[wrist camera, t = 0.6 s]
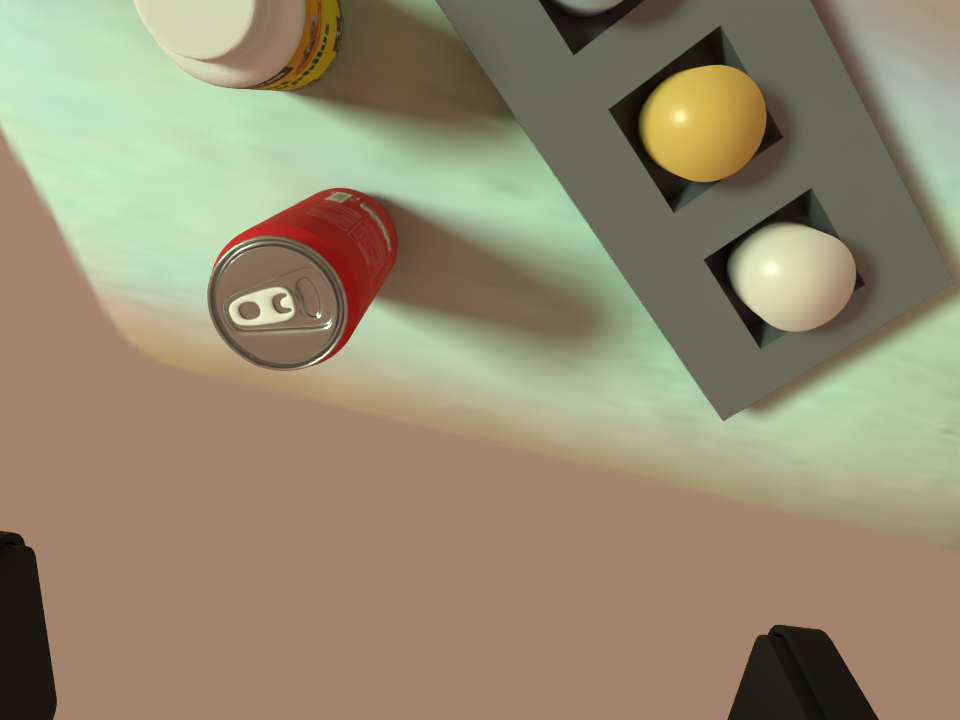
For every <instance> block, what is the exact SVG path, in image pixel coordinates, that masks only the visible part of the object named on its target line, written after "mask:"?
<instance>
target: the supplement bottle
mask: <svg viewBox="0 0 960 720" xmlns="http://www.w3.org/2000/svg"><path fill="white" fill-rule="evenodd" d="M134 3H135V5H136V8H137V11H138V13H139V15H140V17H141V19H142V21H143V22H144V24H145V26H146V27H147V29H148V30H149V31H150V32H151V34H152V35H153V36H154V37H155V39H156V41H157V42H158V44H159V45H160V47H161V48H162V49H163V51H164V52H165V53H166V54H167V56H168V57H169V58H170V59H171V60H172V61H173V62H174V63H175V64H176V65H177V66H179V67H180V68H181V69H182V70H184V71H185V72H186V73H188V74H190V75H191V76H193V77H195V78H197V79H199V80H201V81H203V82H206V83H209V84H212V85H215V86H220V87H225V88H235V89H253V90H274V91H293V90H299V89H303V88H306V87H308V86H310V85H313V84H314V83H316V82H317V81H319V80H320V79H322V78H323V77H324V76H325V75H326V74H327V73H328V72H329V70H330V69H331V68H332V66H333V65H334V63H335V61H336V59H337V57H338V55H339V52H340V49H341V45H342V40H343V31H344V25H343V16H342V11H341V7H340V4H339V1H338V0H134Z"/></svg>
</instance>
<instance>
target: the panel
mask: <svg viewBox="0 0 960 720" xmlns="http://www.w3.org/2000/svg"><path fill="white" fill-rule="evenodd" d="M436 2H437V3H438V5H439V6H440V8H441V9H442V11H443V12H444V14H445V15H446V17H447V18H448V19H449V21H450V22H451V24H452V25H453V27H454V28H455V30H456V31H457V33H458V34H459V36H460V37H461V39H462V40H463V41H464V43H465V44H466V46H467V47H468V49H469V50H470V52H471V53H472V55H473V56H474V58H475V59H476V61H477V62H478V63H479V65H480V66H481V68H482V69H483V71H484V72H485V74H486V75H487V77H488V78H489V80H490V81H491V83H492V84H493V85H494V87H495V88H496V90H497V91H498V93H499V94H500V96H501V97H502V99H503V100H504V102H505V103H506V105H507V106H508V107H509V109H510V110H511V112H512V113H513V115H514V116H515V118H516V119H517V121H518V122H519V124H520V125H521V127H522V128H523V129H524V131H525V132H526V134H527V135H528V137H529V138H530V140H531V141H532V143H533V144H534V146H535V147H536V149H537V150H538V151H539V153H540V154H541V156H542V157H543V159H544V160H545V162H546V163H547V165H548V166H549V168H550V169H551V171H552V172H553V173H554V175H555V176H556V178H557V179H558V181H559V182H560V184H561V185H562V187H563V188H564V190H565V191H566V193H567V194H568V195H569V197H570V198H571V200H572V201H573V203H574V204H575V206H576V207H577V209H578V210H579V212H580V213H581V215H582V216H583V217H584V219H585V220H586V222H587V223H588V225H589V226H590V228H591V229H592V231H593V232H594V234H595V235H596V237H597V238H598V239H599V241H600V242H601V244H602V245H603V247H604V248H605V250H606V251H607V253H608V254H609V256H610V257H611V259H612V260H613V261H614V263H615V264H616V266H617V267H618V269H619V270H620V272H621V273H622V275H623V276H624V278H625V279H626V281H627V282H628V283H629V285H630V286H631V288H632V289H633V291H634V292H635V294H636V295H637V297H638V298H639V300H640V301H641V303H642V304H643V305H644V307H645V308H646V310H647V311H648V313H649V314H650V316H651V317H652V319H653V320H654V322H655V323H656V325H657V326H658V327H659V329H660V330H661V332H662V333H663V335H664V336H665V338H666V339H667V341H668V342H669V344H670V345H671V347H672V348H673V349H674V351H675V352H676V354H677V355H678V357H679V358H680V360H681V361H682V363H683V364H684V366H685V367H686V369H687V370H688V371H689V373H690V374H691V376H692V377H693V379H694V380H695V382H696V383H697V385H698V386H699V388H700V389H701V391H702V392H703V393H704V395H705V396H706V398H707V399H708V401H709V402H710V403H711V405H712V406H713V408H714V409H715V410H716V412H717V413H718V415H719V416H720V417H721V419H722V420H723V421H725V420H726V419H728V418H730V417H731V416H733V415H735V414H736V413H738V412H740V411H741V410H743V409H745V408H746V407H748V406H750V405H751V404H753V403H755V402H756V401H758V400H760V399H761V398H763V397H765V396H766V395H768V394H770V393H771V392H773V391H775V390H776V389H778V388H780V387H781V386H783V385H785V384H786V383H788V382H790V381H791V380H793V379H795V378H796V377H798V376H800V375H801V374H803V373H805V372H806V371H808V370H810V369H811V368H813V367H815V366H816V365H818V364H820V363H821V362H823V361H825V360H826V359H828V358H830V357H831V356H833V355H835V354H836V353H838V352H840V351H841V350H843V349H845V348H846V347H848V346H850V345H851V344H853V343H855V342H856V341H858V340H860V339H861V338H863V337H865V336H866V335H868V334H870V333H871V332H873V331H875V330H876V329H878V328H880V327H881V326H883V325H885V324H886V323H888V322H890V321H891V320H893V319H895V318H896V317H898V316H900V315H901V314H903V313H905V312H906V311H908V310H910V309H911V308H913V307H915V306H916V305H918V304H920V303H921V302H923V301H925V300H926V299H928V298H930V297H931V296H933V295H935V294H936V293H938V292H939V291H941V290H943V289H944V288H946V287H948V286H949V285H951V284H953V283H954V280H953V278H952V276H951V274H950V272H949V270H948V268H947V266H946V264H945V262H944V260H943V258H942V256H941V254H940V252H939V250H938V249H937V247H936V245H935V243H934V241H933V239H932V237H931V235H930V233H929V231H928V229H927V227H926V225H925V223H924V221H923V219H922V217H921V215H920V213H919V211H918V209H917V208H916V206H915V204H914V202H913V200H912V198H911V196H910V194H909V192H908V190H907V188H906V186H905V184H904V182H903V180H902V178H901V176H900V174H899V172H898V170H897V169H896V167H895V165H894V163H893V161H892V159H891V157H890V155H889V153H888V151H887V149H886V147H885V145H884V143H883V141H882V139H881V137H880V135H879V133H878V131H877V129H876V128H875V126H874V124H873V122H872V120H871V118H870V116H869V114H868V112H867V110H866V108H865V106H864V104H863V102H862V100H861V98H860V96H859V94H858V92H857V90H856V88H855V87H854V85H853V83H852V81H851V79H850V77H849V75H848V73H847V71H846V69H845V67H844V65H843V63H842V61H841V59H840V57H839V55H838V53H837V51H836V49H835V48H834V46H833V44H832V42H831V40H830V38H829V36H828V34H827V32H826V30H825V28H824V26H823V24H822V22H821V20H820V18H819V16H818V14H817V12H816V10H815V8H814V7H813V5H812V3H811V1H810V0H623V1H622V2H621V3H619V4H618V5H617V6H615V7H614V8H613V9H611V10H609V11H607V12H605V13H603V14H600V15H596V16H591V17H579V16H574V15H570V14H568V13H565V12H563V11H562V10H560V9H558V8H557V7H556V6H555V5H553V4H552V3H551V1H550V0H436ZM710 65H724V66H729V67H733V68H735V69H738V70H740V71H742V72H743V73H745V74H746V75H748V76H749V77H750V78H751V79H752V80H753V81H754V82H755V83H756V85H757V86H758V88H759V89H760V91H761V93H762V96H763V98H764V102H765V106H766V127H765V132H764V135H763V138H762V141H761V143H760V145H759V147H758V149H757V151H756V152H755V154H754V155H753V157H752V158H751V159H750V160H749V161H748V162H747V163H746V164H745V165H744V166H743V167H742V168H741V169H739V170H738V171H737V172H735V173H733V174H732V175H730V176H728V177H726V178H723V179H720V180H716V181H711V182H697V181H692V180H688V179H686V178H683V177H680V176H678V175H676V174H673V173H671V172H668V171H666V170H663V169H661V168H660V167H658V166H657V165H655V164H654V163H653V162H652V161H651V160H650V159H649V158H648V157H647V155H646V154H645V152H644V151H643V149H642V146H641V144H640V141H639V136H638V117H639V113H640V109H641V106H642V104H643V102H644V100H645V98H646V96H647V95H648V93H649V92H650V91H651V89H652V88H653V87H654V86H655V85H656V84H657V83H658V82H659V81H661V80H662V79H663V78H665V77H666V76H668V75H670V74H672V73H674V72H677V71H680V70H685V69H691V68H698V67H704V66H710ZM772 219H788V220H793V221H796V222H798V223H801V224H803V225H806V226H808V227H811V228H813V229H816V230H818V231H821V232H823V233H826V234H828V235H831V236H833V237H835V238H837V239H838V240H840V241H841V242H842V243H843V244H844V245H845V246H846V247H847V248H848V250H849V251H850V253H851V254H852V257H853V259H854V262H855V267H856V280H855V286H854V289H853V292H852V294H851V297H850V298H849V300H848V302H847V304H846V305H845V306H844V308H843V309H842V310H841V311H840V312H839V313H838V314H837V315H836V316H835V317H834V318H832V319H831V320H830V321H828V322H827V323H825V324H823V325H821V326H819V327H816V328H814V329H810V330H806V331H797V332H793V331H785V330H781V329H778V328H776V327H774V326H772V325H770V324H769V323H767V322H766V321H765V320H763V319H762V318H761V317H760V316H759V315H757V314H756V313H755V312H754V311H752V310H751V309H750V308H749V307H747V306H746V305H745V304H744V303H743V302H741V301H740V300H739V299H738V298H737V297H736V296H735V295H734V293H733V292H732V290H731V288H730V286H729V284H728V280H727V272H726V269H727V261H728V257H729V255H730V252H731V250H732V248H733V246H734V245H735V243H736V242H737V240H738V239H739V238H740V237H741V236H742V235H743V234H744V233H745V232H746V231H747V230H749V229H750V228H752V227H753V226H755V225H757V224H759V223H761V222H764V221H767V220H772Z"/></svg>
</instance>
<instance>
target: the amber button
mask: <svg viewBox="0 0 960 720" xmlns="http://www.w3.org/2000/svg"><path fill="white" fill-rule="evenodd" d="M765 127H766V106H765V102H764V98H763V96H762V93H761V91H760V89H759V88H758V86H757V85H756V83H755V82H754V81H753V80H752V79H751V78H750V77H749V76H748V75H746V74H745V73H743V72H742V71H740V70H738V69H735V68H733V67H729V66H724V65H710V66H704V67H698V68H691V69H685V70H680V71H677V72H674V73H672V74H670V75H668V76H666V77H665V78H663V79H662V80H661V81H659V82H658V83H657V84H656V85H655V86H654V87H653V88H652V89H651V91H650V92H649V93H648V95H647V96H646V98H645V100H644V102H643V104H642V106H641V109H640V113H639V117H638V136H639V141H640V144H641V146H642V149H643V151H644V152H645V154H646V155H647V157H648V158H649V159H650V160H651V161H652V162H653V163H654V164H655V165H657V166H658V167H660V168H661V169H663V170H666V171H668V172H671V173H673V174H676V175H678V176H680V177H683V178H686V179H688V180H692V181H697V182H711V181H716V180H720V179H723V178H726V177H728V176H730V175H732V174H733V173H735V172H737V171H738V170H739V169H741V168H742V167H743V166H744V165H745V164H746V163H747V162H748V161H749V160H750V159H751V158H752V157H753V155H754V154H755V152H756V151H757V149H758V147H759V145H760V143H761V141H762V138H763V135H764V132H765Z"/></svg>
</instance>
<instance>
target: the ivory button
mask: <svg viewBox="0 0 960 720" xmlns="http://www.w3.org/2000/svg"><path fill="white" fill-rule="evenodd" d="M726 272H727V280H728V284H729V286H730V288H731V290H732V292H733V293H734V295H735V296H736V297H737V298H738V299H739V300H740V301H741V302H743V303H744V304H745V305H746V306H747V307H749V308H750V309H751V310H752V311H754V312H755V313H756V314H757V315H759V316H760V317H761V318H762V319H763V320H765V321H766V322H767V323H769V324H770V325H772V326H774V327H776V328H778V329H781V330H785V331H793V332H797V331H806V330H810V329H814V328H816V327H819V326H821V325H823V324H825V323H827V322H828V321H830V320H831V319H832V318H834V317H835V316H836V315H837V314H838V313H839V312H840V311H841V310H842V309H843V308H844V306H845V305H846V304H847V302H848V300H849V298H850V297H851V294H852V292H853V289H854V286H855V280H856V267H855V262H854V259H853V257H852V254H851V253H850V251H849V250H848V248H847V247H846V246H845V245H844V244H843V243H842V242H841V241H840V240H838V239H837V238H835V237H833V236H831V235H828V234H826V233H823V232H821V231H818V230H816V229H813V228H811V227H808V226H806V225H803V224H801V223H798V222H796V221H793V220H788V219H772V220H767V221H764V222H761V223H759V224H757V225H755V226H753V227H752V228H750V229H749V230H747V231H746V232H745V233H744V234H743V235H742V236H741V237H740V238H739V239H738V240H737V242H736V243H735V245H734V246H733V248H732V250H731V252H730V255H729V257H728V261H727V269H726Z"/></svg>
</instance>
